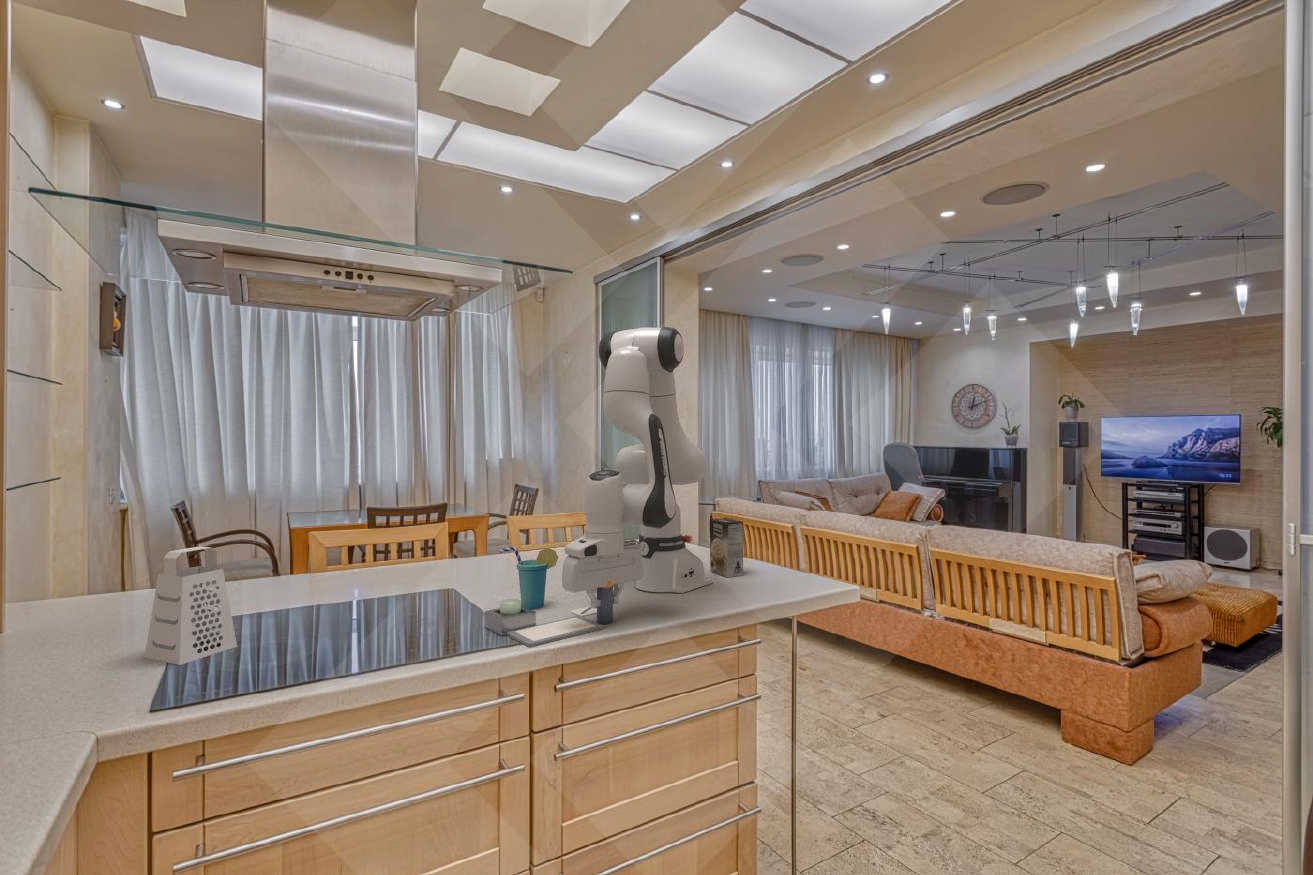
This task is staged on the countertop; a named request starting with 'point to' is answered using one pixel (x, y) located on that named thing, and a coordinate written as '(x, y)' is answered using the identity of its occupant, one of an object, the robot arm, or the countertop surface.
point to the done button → (510, 607)
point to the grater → (189, 611)
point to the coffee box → (726, 547)
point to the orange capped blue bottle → (605, 604)
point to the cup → (534, 576)
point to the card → (584, 611)
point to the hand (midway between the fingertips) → (604, 605)
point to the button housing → (509, 620)
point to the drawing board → (554, 631)
